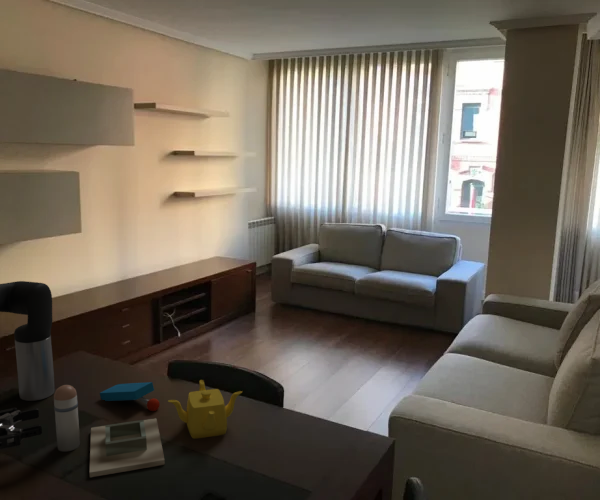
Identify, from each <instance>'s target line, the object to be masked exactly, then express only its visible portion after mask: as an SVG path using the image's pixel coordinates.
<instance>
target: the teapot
mask: <svg viewBox="0 0 600 500" xmlns="http://www.w3.org/2000/svg"><path fill="white" fill-rule="evenodd" d="M198 382H199V383H198V384H199V389H198V390H195V391H190V392H189V393H188V397H187V402H186V403H187V404H186V410H184V409H183V406H182V405H181V402H180V401H179V400H176V399H169V400H167V403H170V404H172V405H174V407H175V409H176V411H177V414H178V418H179V419H180V420H181V421H182V422H183V423H185V424H186V426H187V430H188V432H189V435H190V437H191V438H192V439H194V440H195V439H205V438H210V437H211V438H212V437H217V436H222V435H225V434H226V433H227V431H228V417H230V416H231V415H232V413H233V411H234V408H235V403H236V400H237V397H238V396H239V395H241V394H242V393H243V390H242V391H241V390H239V391H236V392H233V393H232V395H231V396H230V398H229V399H230V400H229V401H228V403H227V404H225V399H224V397H223V394H222V392H221V391H220V389H219V388H213V389H206V384H205V380H204V379H200V380H199V381H198Z"/></svg>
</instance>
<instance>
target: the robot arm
mask: <svg viewBox="0 0 600 500" xmlns="http://www.w3.org/2000/svg"><path fill="white" fill-rule="evenodd" d="M0 313H11V314H17V315H24V316H25V315H26V316H27V323H25V324H22V325H19V326H18V327H16V328H15V329H14V333H13V335H14V346H15V347H14V348H15V357H16V369H17V370H16V371H17V381H18V393H19V399H21V400H22V401H29V402H34V401H40V400H44V399H46V398H49V397H51V396H52V395H54V393H55V391H56V388H55V373H54V361H53V360H54V359H53V348H52V347H53V346H52V334H51V332H52V326H53V295H52V291H51V289H50V287H49V285H48V284H46V283H43V282H36V281H24V280H20V281H11V282H5V283H0ZM39 412H40V411H39V408H38V407H37V408H31V409H27V410H22V411H21V410H20V409H18V408H17V407H11V408H7V409H3V410H0V450H4V449H8V448H12V447H13V448H14V447H17V446H21V442H22V441H24V439H27V438H32V437H35V436H39V435H40V436H41V435H42V434H43V429H42V424H35V425H30V426H26V427H22V428H20V427H14V425H16V424H17V423H19V422H21V421H22V422H24V421H30V420H35V419H38V418H39V417H40V413H39Z"/></svg>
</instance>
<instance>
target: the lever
mask: <svg viewBox="0 0 600 500" xmlns="http://www.w3.org/2000/svg"><path fill="white" fill-rule="evenodd" d="M152 392H155V388H154V382H153V381H150V382H149V381H148V382H129V383H118V384H115V385H113V386H111V387H109V388H107V389H105V390H102V391H101V392H99V396H100V400H101V399H102V400H105V401H104V402H111V401H113V402H114V401H115V402H116V401H136V400H138V401H140V402H142V403H144V404H146V408H147V410H148V411H150V412H156V411H157V410H159V408H160V400H158V399H157V398H155V397H154V398H150V399H147V398H145V397H144V396H146V395H148V394H150V393H152ZM102 400H101V401H102Z"/></svg>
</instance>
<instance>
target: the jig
mask: <svg viewBox="0 0 600 500" xmlns="http://www.w3.org/2000/svg"><path fill="white" fill-rule="evenodd" d="M161 440H162V439H161V434H160V430H159V423H158V419H157V418H156V417H155V418H148V419H141V420H140V419H139V420H134V421H133V420H132V421H126V422H121V423H113V424H106V425H101V426H93V427H90V444H89V445H90V447H89V451H90V453H89V478H95V477H101V476H107V475H112V474H119V473H123V472H124V473H125V472H130V471H135V470H140V469H146V468H153V467H158V466H164V465H165V464H166V463H165V455H164V450H163V446H162V445H163V443H162V441H161Z"/></svg>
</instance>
